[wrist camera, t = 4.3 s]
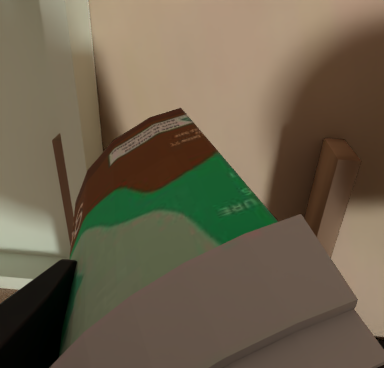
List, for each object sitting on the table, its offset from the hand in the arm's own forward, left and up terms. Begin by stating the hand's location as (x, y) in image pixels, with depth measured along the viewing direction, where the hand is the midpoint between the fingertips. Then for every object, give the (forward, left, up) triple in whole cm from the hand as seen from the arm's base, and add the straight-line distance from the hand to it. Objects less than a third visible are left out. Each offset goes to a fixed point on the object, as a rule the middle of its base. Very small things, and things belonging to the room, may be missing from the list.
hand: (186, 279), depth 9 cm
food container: (+3, +2, -5) cm, 6 cm away
